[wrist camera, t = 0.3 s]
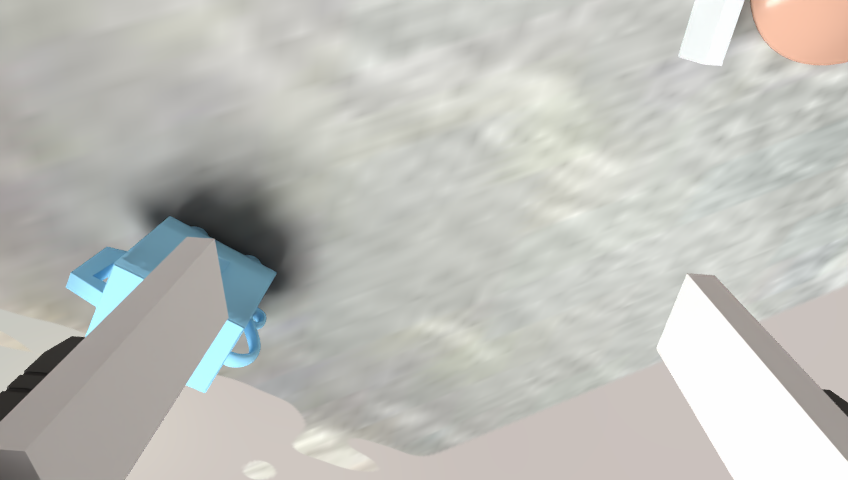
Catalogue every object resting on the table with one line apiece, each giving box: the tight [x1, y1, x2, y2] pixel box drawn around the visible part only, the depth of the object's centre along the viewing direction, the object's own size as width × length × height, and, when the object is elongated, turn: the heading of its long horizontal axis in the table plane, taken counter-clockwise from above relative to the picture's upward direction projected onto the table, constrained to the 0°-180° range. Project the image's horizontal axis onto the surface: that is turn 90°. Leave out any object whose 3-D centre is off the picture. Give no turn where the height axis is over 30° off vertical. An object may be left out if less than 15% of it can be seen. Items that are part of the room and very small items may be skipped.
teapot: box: [66, 216, 277, 393], centre depth 41 cm, size 16×18×11 cm
